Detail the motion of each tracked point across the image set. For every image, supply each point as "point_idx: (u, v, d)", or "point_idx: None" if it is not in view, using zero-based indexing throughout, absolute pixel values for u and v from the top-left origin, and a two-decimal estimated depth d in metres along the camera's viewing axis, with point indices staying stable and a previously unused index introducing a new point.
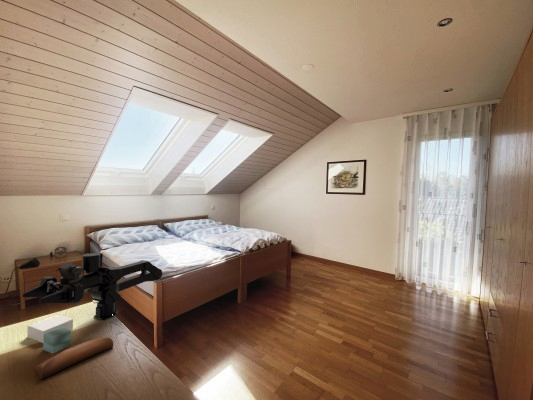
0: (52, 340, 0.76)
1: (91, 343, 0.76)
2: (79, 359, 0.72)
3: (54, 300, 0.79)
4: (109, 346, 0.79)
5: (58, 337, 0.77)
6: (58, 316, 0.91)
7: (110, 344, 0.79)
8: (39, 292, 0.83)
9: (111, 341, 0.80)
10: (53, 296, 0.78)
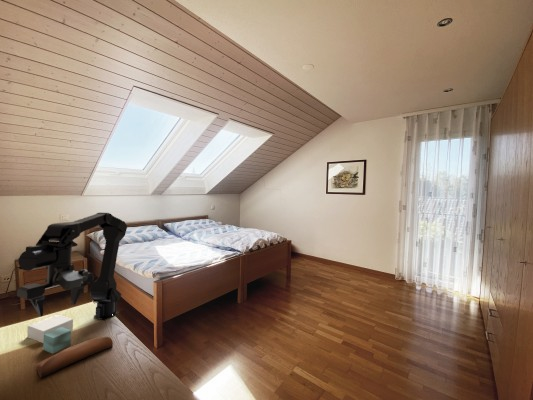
0: (52, 340, 0.76)
1: (90, 342, 0.77)
2: (78, 358, 0.72)
3: None
4: (108, 346, 0.79)
5: (58, 337, 0.77)
6: (58, 316, 0.91)
7: (109, 344, 0.79)
8: None
9: (110, 341, 0.80)
10: None
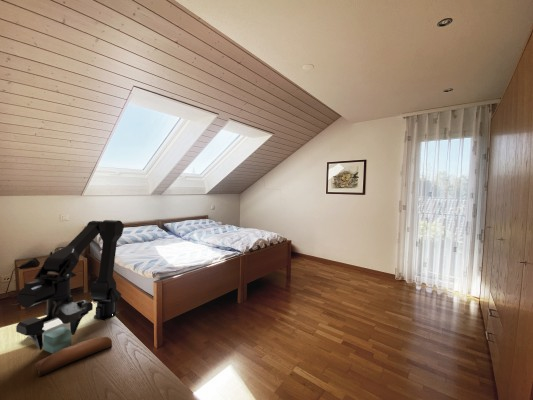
0: (52, 340, 0.76)
1: (90, 342, 0.77)
2: (77, 358, 0.73)
3: None
4: (108, 346, 0.79)
5: (58, 337, 0.77)
6: None
7: (109, 344, 0.79)
8: None
9: (110, 341, 0.80)
10: None
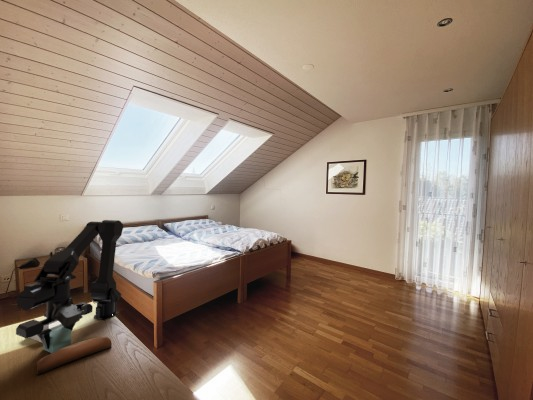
0: (52, 340, 0.76)
1: (89, 342, 0.77)
2: (75, 357, 0.73)
3: None
4: (107, 346, 0.79)
5: (58, 336, 0.77)
6: None
7: (108, 344, 0.79)
8: None
9: (109, 341, 0.80)
10: None
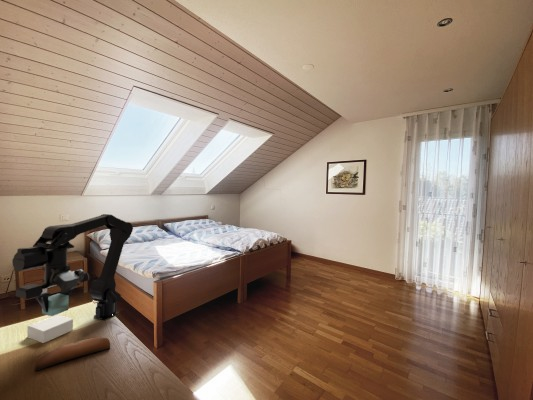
0: (51, 303, 0.80)
1: (88, 341, 0.77)
2: (73, 356, 0.73)
3: None
4: (105, 347, 0.78)
5: (56, 300, 0.81)
6: (58, 316, 0.91)
7: (106, 345, 0.79)
8: None
9: (108, 342, 0.79)
10: None
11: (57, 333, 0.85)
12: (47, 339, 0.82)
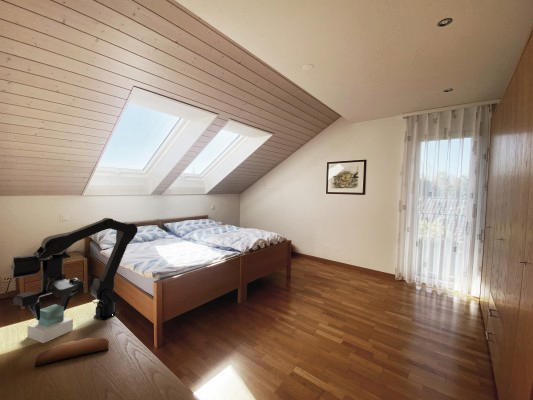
0: (46, 314, 0.84)
1: (88, 341, 0.77)
2: (71, 355, 0.74)
3: None
4: (103, 348, 0.78)
5: (51, 312, 0.85)
6: None
7: (104, 346, 0.78)
8: None
9: (106, 343, 0.78)
10: None
11: (57, 333, 0.85)
12: (47, 339, 0.82)
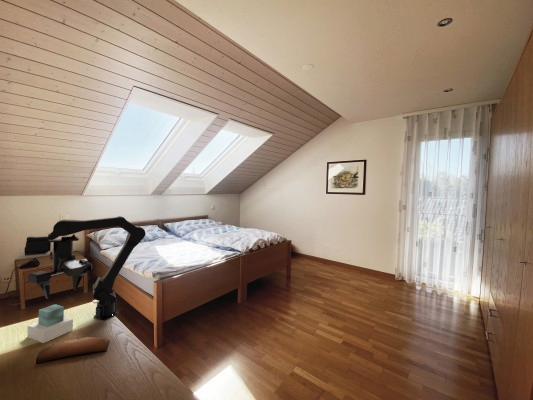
0: (46, 314, 0.84)
1: (87, 340, 0.78)
2: (70, 354, 0.74)
3: None
4: (102, 349, 0.77)
5: (51, 312, 0.85)
6: None
7: (103, 347, 0.78)
8: None
9: (105, 344, 0.78)
10: None
11: (57, 333, 0.85)
12: (47, 339, 0.82)
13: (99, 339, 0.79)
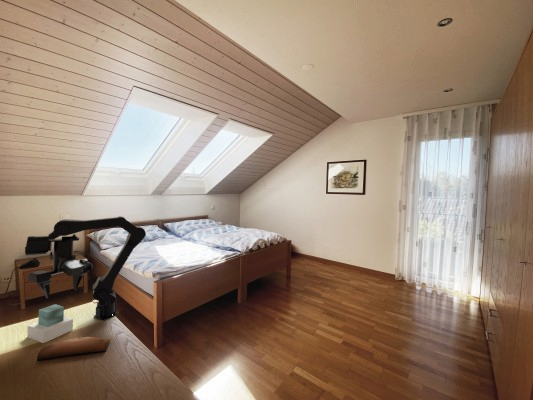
0: (46, 314, 0.84)
1: (87, 340, 0.78)
2: (70, 353, 0.75)
3: None
4: (100, 349, 0.77)
5: (51, 312, 0.85)
6: None
7: (102, 347, 0.77)
8: None
9: (104, 344, 0.78)
10: None
11: (57, 333, 0.85)
12: (47, 339, 0.82)
13: (99, 339, 0.78)
